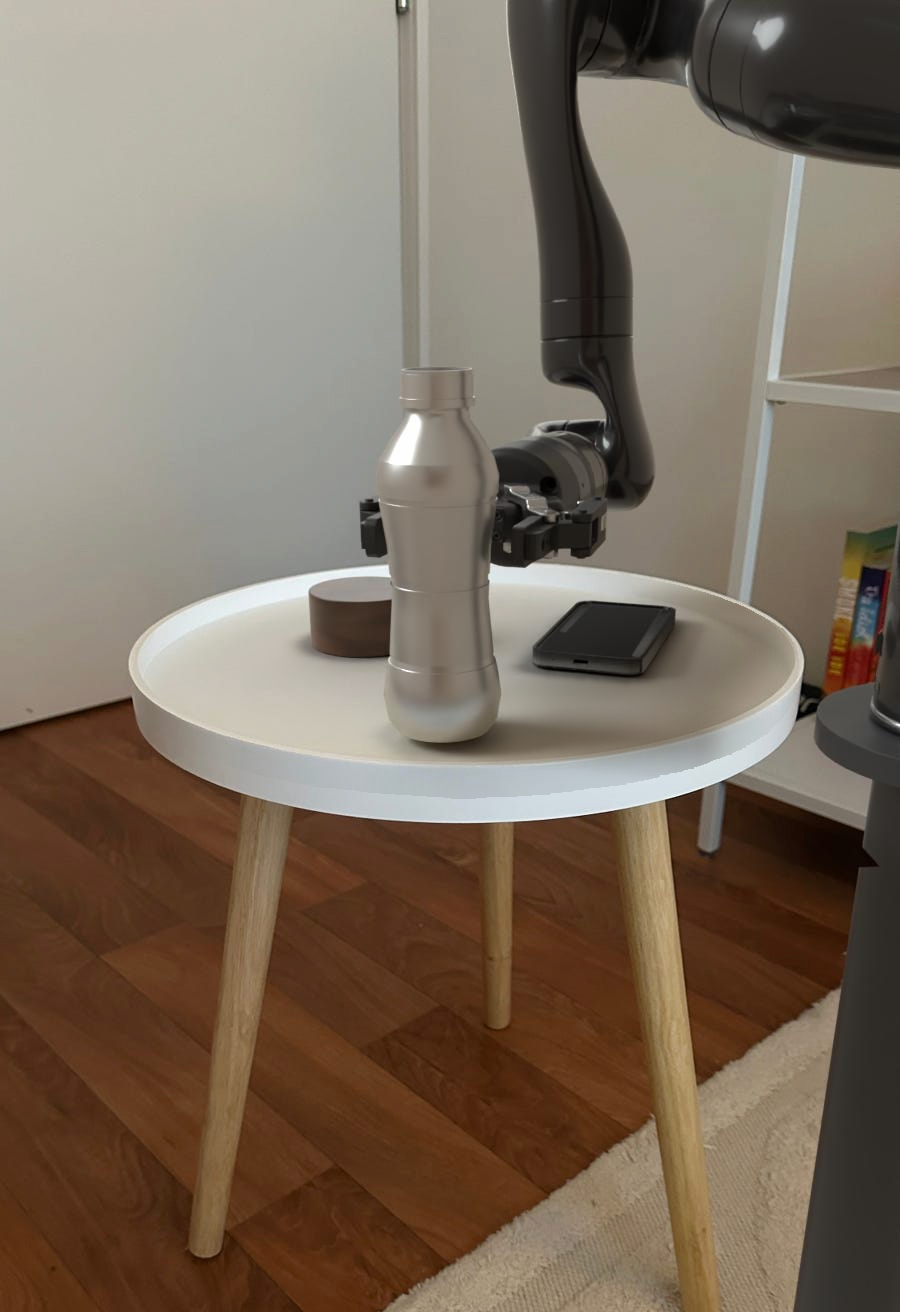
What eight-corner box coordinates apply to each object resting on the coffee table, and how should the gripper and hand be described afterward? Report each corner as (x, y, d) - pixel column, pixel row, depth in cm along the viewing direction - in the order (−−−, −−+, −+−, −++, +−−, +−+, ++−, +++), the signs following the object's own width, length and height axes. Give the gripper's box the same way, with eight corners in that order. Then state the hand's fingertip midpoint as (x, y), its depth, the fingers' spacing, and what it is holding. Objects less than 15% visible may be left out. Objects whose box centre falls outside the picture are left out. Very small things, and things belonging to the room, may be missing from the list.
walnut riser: (439, 635, 87) (439, 583, 85) (381, 663, 81) (380, 606, 79) (351, 623, 91) (349, 572, 89) (289, 648, 84) (285, 593, 83)
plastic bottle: (507, 754, 64) (511, 371, 56) (385, 758, 64) (371, 373, 56) (495, 715, 70) (496, 364, 62) (383, 719, 70) (371, 366, 62)
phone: (678, 607, 89) (642, 660, 76) (677, 621, 90) (641, 676, 77) (578, 599, 92) (526, 649, 79) (577, 613, 92) (526, 665, 79)
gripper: (426, 436, 78) (320, 467, 64) (636, 442, 73) (571, 478, 59) (428, 548, 81) (327, 602, 67) (629, 561, 76) (567, 622, 62)
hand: (442, 543), depth 63 cm, fingers open, 8 cm apart
